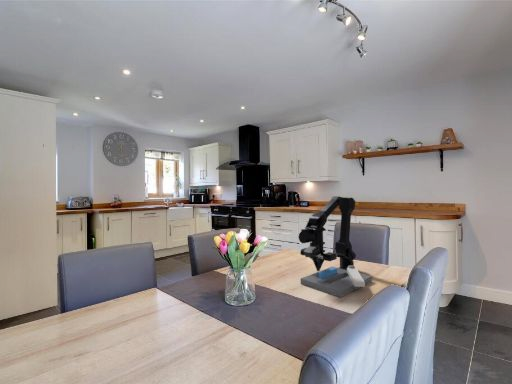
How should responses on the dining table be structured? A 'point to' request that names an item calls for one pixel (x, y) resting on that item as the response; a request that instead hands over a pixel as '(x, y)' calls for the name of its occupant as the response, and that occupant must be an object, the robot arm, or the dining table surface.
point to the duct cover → (355, 276)
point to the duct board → (339, 285)
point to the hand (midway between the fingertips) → (318, 270)
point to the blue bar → (327, 272)
